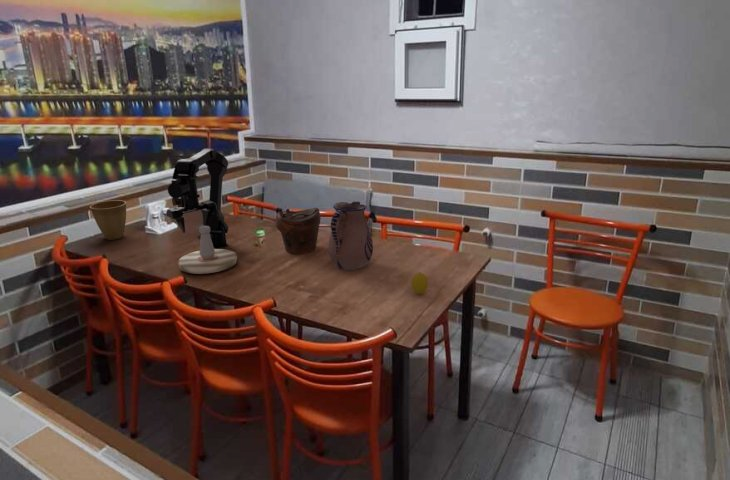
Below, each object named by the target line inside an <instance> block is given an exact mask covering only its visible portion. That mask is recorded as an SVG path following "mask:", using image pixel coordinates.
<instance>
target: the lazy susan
mask: <svg viewBox="0 0 730 480" xmlns="http://www.w3.org/2000/svg"><path fill="white" fill-rule="evenodd" d="M214 250H215V254H214V256H213V258H212V259H209V260H203V258H202V257H201V256H200V250H196V251H193V252H190V253H186V254H185V255H183V256H182V257H180V258H179V259H178V267H179V269H180V270H181V271H182V272H184V273H187V274H194V275H195V274H197V275H198V274H199V275H203V274H212V273H218V272H221V271H225V270H228V269H230V268H232V267H234V266H235V265H236V264H237V262H238V256H237V253H236V252H234V251H233V250H230V249H223V248H214Z"/></svg>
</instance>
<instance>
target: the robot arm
mask: <svg viewBox="0 0 730 480" xmlns="http://www.w3.org/2000/svg"><path fill="white" fill-rule="evenodd" d="M174 165H175V166H174V170H173V173H172V177H171V178H172V180H171V183H170V184H169V185H168V187H167V193H168V195H169V196H170V197H171V202H172V203H171V204H172V206H173V207H172V208H168V209H167V210H166V212H165V213H166V217H168V218H170V219H173V220H174V221H176V223H177V224H178V227H179V228H180V230H181V232H182V233H183V234H185V233H186V227H185V223H186V222H185V218H184V217H183V215H185V214H188V213H192V212H197V211H201V214H202V226H209V227H210V232H209V234H210V237H211V240H212V244H213V247H214V249H221V248H223V247H227V246H229V243H227V235H226V234H228V232H229V226H228V224H227V223H226V222H225V216H224V214H223V213H222V210H221V208H222V206H221V205H222V194H223V193H222V192H223V190H222V189H223V178H224V176H225V175H226V173H227V171H228V167H229V160H228V159H227V158H226V157H225V156H224V155H223V154H221V153H219V152H218V151H216V149H213V148H203V149H202V150H201V151H199V152H196V154H195V155H193V156H191V157H189V158H182V159H178V160H177V161H176V163H175V164H174ZM203 165H206V168H207V169H206V170H207V172H208V174H209V176H210V180H209V181H210V182H209V185H210V187H209V200H205V201H201V202H200V201H199V198H200V194H199V193H198V185H197V179H198V178H199V176H198V175H197V173H198V172H199V171H200V167H202V166H203ZM175 206H177V207H175Z"/></svg>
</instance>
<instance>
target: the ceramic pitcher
mask: <svg viewBox="0 0 730 480" xmlns="http://www.w3.org/2000/svg"><path fill="white" fill-rule="evenodd" d="M332 207H333V209H334V210H335V212H334V213H333V214H332V217H331V220H330V231H331V232H330V235H329V239H328V244H327V245H328V246H327V249H328V250H327V252H328V253H327V254H328V255H329V258H330V259H331V262H332V263H333V264H334V266H336V267H337V268H339V269H342V270H344V271H356V270H360V269H361V268H363V267H365V266H366V265H367V264H368V263H369V262H370V261H371V260H372V259H371V258H372V256H373V253H374V242H373V238H372V233H371V230H370V227H369V224H368V221H367V218H366V216H365V211H366V210H367V205H364V204H362V203H361V202H360V201H352V202H351V203H349V202H344V201H341V202H336V203H334V204H333V206H332Z"/></svg>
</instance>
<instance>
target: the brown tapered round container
mask: <svg viewBox="0 0 730 480" xmlns="http://www.w3.org/2000/svg"><path fill="white" fill-rule="evenodd" d="M320 212H321V211H320V209H319V208H318V207H312V208H307V209H302V210H297V211H293V210H291V211H290V210H283V211H278V212H277V214H276V219H275V227H276V228H277V230H278V232H279V233H281V238H282V241H283V245H284V249H285V251H286V252H287V253H289V254H298V255H300V254H308V253H312V252H314V251H315V250H316V248H317V244H318V238H319V229H320V224H321V218H322V217H321V213H320Z"/></svg>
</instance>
